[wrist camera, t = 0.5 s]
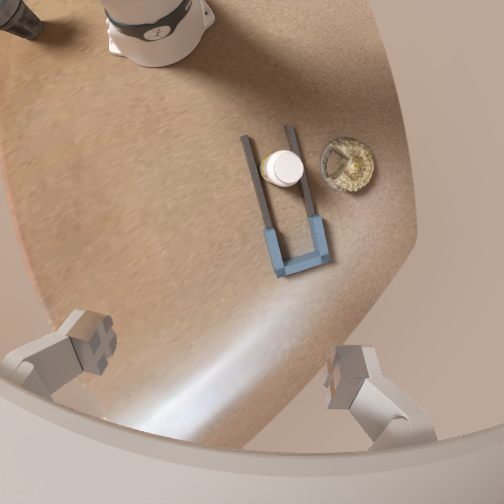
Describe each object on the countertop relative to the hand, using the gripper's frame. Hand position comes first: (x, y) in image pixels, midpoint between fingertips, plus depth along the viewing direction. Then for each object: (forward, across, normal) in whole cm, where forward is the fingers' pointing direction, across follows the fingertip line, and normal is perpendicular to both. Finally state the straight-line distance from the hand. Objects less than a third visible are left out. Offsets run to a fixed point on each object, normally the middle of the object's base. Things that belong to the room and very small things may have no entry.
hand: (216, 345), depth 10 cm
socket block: (+41, -6, +14) cm, 43 cm away
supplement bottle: (+42, -2, +2) cm, 43 cm away
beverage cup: (+40, +48, -28) cm, 68 cm away
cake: (+45, -14, 0) cm, 48 cm away
